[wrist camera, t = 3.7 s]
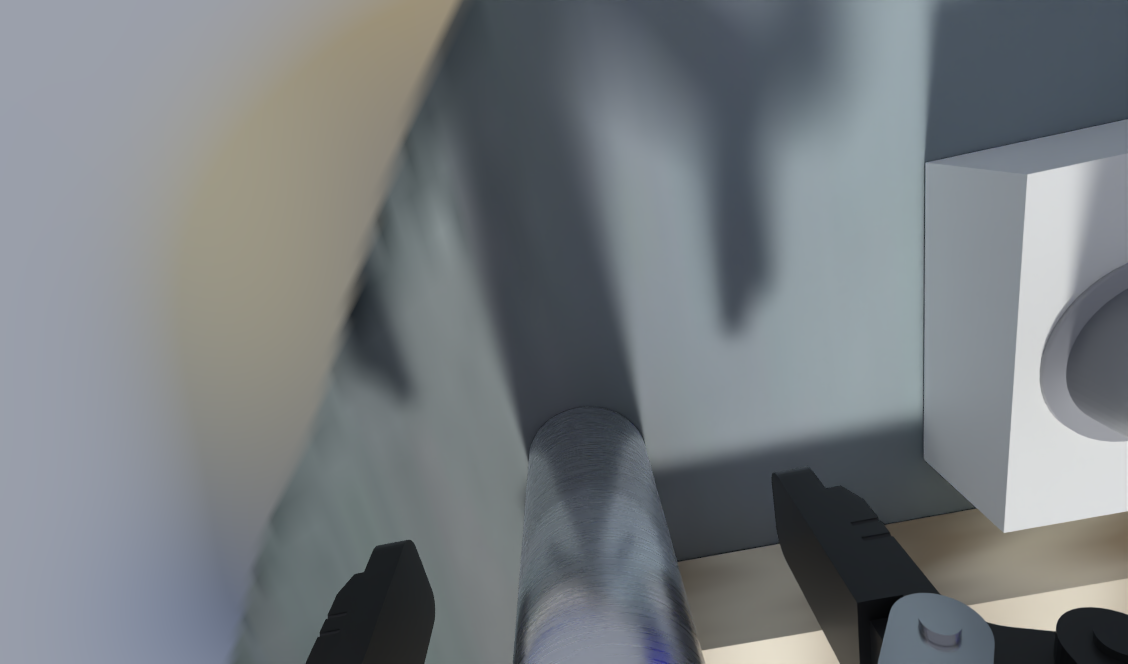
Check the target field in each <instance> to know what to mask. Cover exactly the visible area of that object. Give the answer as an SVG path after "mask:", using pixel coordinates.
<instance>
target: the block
mask: <svg viewBox="0 0 1128 664" xmlns="http://www.w3.org/2000/svg"><path fill="white" fill-rule="evenodd" d="M924 460H925V461H926V462H927V463H928V464H929V465H930V466H932V467H933V468H934V469H935V470H936V471H937V472H938V473H939V474H940V475H941V476H942V477H943V478H945V479H946V480H947V481H948V482H949V483H950V484H951V485H952V486H953V487H954V488H955V489H956V490H958V491H959V492H960V493H961V494H962V495H963V496H964V497H965V498H966V499H967V500H968V501H970V502H971V503H972V504H973V505H974V506H975V507H976V508H977V509H978V510H979V511H980V512H981V513H983V514H984V515H985V516H986V517H987V518H988V519H989V520H990V521H991V522H992V523H993V524H994V525H996V526H997V527H998V528H999V529H1000V530H1001V531H1002V532H1003V533H1007V532H1013V531H1018V530H1024V529H1030V528H1035V527H1041V526H1047V525H1052V524H1058V523H1064V522H1069V521H1075V520H1081V519H1086V518H1092V517H1098V516H1103V515H1109V514H1115V513H1120V512H1126V511H1128V119H1126V120H1122V121H1117V122H1112V123H1108V124H1103V125H1098V126H1094V127H1089V128H1084V129H1080V130H1075V131H1070V132H1066V133H1061V134H1056V135H1052V136H1047V137H1042V138H1038V139H1033V140H1028V141H1024V142H1019V143H1015V144H1010V145H1005V146H1001V147H996V148H991V149H987V150H982V151H977V152H973V153H968V154H963V155H959V156H954V157H949V158H945V159H940V160H935V161H931V162H926V163H925V329H924Z"/></svg>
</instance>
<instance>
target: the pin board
mask: <svg viewBox="0 0 1128 664" xmlns="http://www.w3.org/2000/svg"><path fill="white" fill-rule="evenodd" d="M885 527H886V528H887V529H888V530H889V532H890V534H891V536H894V538H895V539H896V540H897V541H898V543H899V544H900V545H901V546H902V548H903V549H904V550H905V551H906V552H907V554H908V555H909V556H910V557H911V559H912V560H913V561H914V562H915V564H916V565H917V566H918V567H919V568H920V570H921V571H922V572H923V573H924V575H925V576H926V577H927V578H928V580H929V581H930V582H931V583H932V585H933V586H934V587H935V588H936V589H937V591H938V592H939V593H940V594H941V595H943V596H947V597H950V598H953V599H955V600H957V601H960V602H962V603H963V604H965V605H967V606H969V607H970V608H972V609H973V610H974V611H976V612H977V613H978V614H979V615H980V616H981V617H982V618H983V619H984V620H985V621H986V622H988V623H992V624H996V625H1001V626H1008V627H1017V628H1027V629H1037V630H1047V631H1056V625H1057V622H1058V619H1059V618H1060V617H1061V615H1063V614H1064V613H1066V612H1067V611H1070V610H1072V609H1076V608H1082V607H1096V608H1104V609H1110V610H1114V611H1118V612H1122V613H1125V614H1127V615H1128V511H1126V512H1120V513H1115V514H1109V515H1103V516H1098V517H1092V518H1086V519H1081V520H1075V521H1069V522H1064V523H1058V524H1052V525H1047V526H1041V527H1035V528H1030V529H1024V530H1018V531H1013V532H1007V533H1003V532H1002V531H1001V530H1000V529H999V528H998V527H997V526H996V525H994V524H993V523H992V522H991V521H990V520H989V519H988V518H987V517H986V516H985V515H984V514H983V513H981V512H980V511H979V510H978V509H971V510H965V511H960V512H954V513H949V514H943V515H938V516H932V517H926V518H921V519H915V520H910V521H904V522H898V523H893V524H887V525H885ZM677 563H678V566H679V570H680V574H681V577H682V581H683V584H684V588H685V592H686V595H687V599H688V603H689V606H690V610H691V613H692V617H693V621H694V624H695V628H696V632H697V635H698V639H699V642H700V646H701V650H702V653H703V657H704V660H705V664H840V663H839V661H838V659H837V657H836V655H835V653H834V651H833V650H832V648H831V646H830V644H829V642H828V640H827V638H826V636H825V634H824V632H823V630H822V629H821V627H820V625H819V623H818V621H817V619H816V617H815V615H814V613H813V611H812V609H811V608H810V606H809V604H808V602H807V600H806V598H805V596H804V594H803V592H802V590H801V588H800V587H799V585H798V583H797V581H796V579H795V577H794V575H793V573H792V571H791V569H790V567H789V566H788V564H787V562H786V560H785V557H784V555H783V552H782V549H781V546H780V544H776V545H770V546H764V547H759V548H753V549H748V550H742V551H737V552H731V553H725V554H720V555H714V556H709V557H703V558H697V559H692V560H686V561H681V562H677Z"/></svg>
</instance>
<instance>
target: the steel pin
mask: <svg viewBox="0 0 1128 664" xmlns="http://www.w3.org/2000/svg"><path fill="white" fill-rule="evenodd" d="M513 664H705V660H704V657H703V653H702V650H701V646H700V642H699V639H698V635H697V632H696V628H695V624H694V621H693V617H692V613H691V610H690V606H689V603H688V599H687V595H686V592H685V588H684V584H683V581H682V577H681V574H680V570H679V566H678V563H677V559H676V555H675V552H674V548H673V545H672V541H671V537H670V534H669V530H668V526H667V523H666V519H665V516H664V512H663V508H662V505H661V501H660V497H659V494H658V490H657V487H656V483H655V479H654V476H653V472H652V469H651V465H650V461H649V458H648V454H647V450H646V447H645V443H644V440H643V438H642V436H641V434H640V432H639V431H638V429H637V428H636V427H635V426H634V425H633V424H632V423H631V422H630V421H629V420H628V419H626V418H625V417H623V416H622V415H620V414H618V413H616V412H614V411H611V410H608V409H604V408H600V407H579V408H574V409H570V410H567V411H564V412H562V413H560V414H558V415H556V416H554V417H553V418H551V419H550V420H548V421H547V422H546V423H545V424H544V425H543V426H542V427H541V428H540V429H539V431H538V432H537V434H536V435H535V437H534V439H533V441H532V444H531V447H530V452H529V462H528V475H527V488H526V501H525V513H524V526H523V539H522V552H521V565H520V578H519V591H518V603H517V616H516V629H515V642H514V655H513Z"/></svg>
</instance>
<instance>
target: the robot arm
mask: <svg viewBox="0 0 1128 664" xmlns="http://www.w3.org/2000/svg"><path fill="white" fill-rule="evenodd" d="M772 489H773V499H774V509H775V519H776V528H777V535H778V539H779V543H780V546H781V549H782V552H783V555H784V557H785V560H786V562H787V564H788V566H789V567H790V569H791V571H792V573H793V575H794V577H795V579H796V581H797V583H798V585H799V587H800V588H801V590H802V592H803V594H804V596H805V598H806V600H807V602H808V604H809V606H810V608H811V609H812V611H813V613H814V615H815V617H816V619H817V621H818V623H819V625H820V627H821V629H822V630H823V632H824V634H825V636H826V638H827V640H828V642H829V644H830V646H831V648H832V650H833V651H834V653H835V655H836V657H837V659H838V661H839V663H840V664H1128V615H1127V614H1125V613H1122V612H1118V611H1114V610H1110V609H1104V608H1096V607H1082V608H1076V609H1072V610H1070V611H1067V612H1066V613H1064V614H1063V615H1061V617H1060V618H1059V619H1058V622H1057V625H1056V631H1047V630H1037V629H1027V628H1017V627H1008V626H1001V625H996V624H992V623H988V622H986V621H985V620H984V619H983V618H982V617H981V616H980V615H979V614H978V613H977V612H976V611H974V610H973V609H972V608H970V607H969V606H967V605H965V604H963V603H962V602H960V601H957V600H955V599H953V598H950V597H947V596H943V595H941V594H940V593H939V592H938V591H937V589H936V588H935V587H934V586H933V585H932V583H931V582H930V581H929V580H928V578H927V577H926V576H925V575H924V573H923V572H922V571H921V570H920V568H919V567H918V566H917V565H916V564H915V562H914V561H913V560H912V559H911V557H910V556H909V555H908V554H907V552H906V551H905V550H904V549H903V548H902V546H901V545H900V544H899V543H898V541H897V540H896V539H895V538H894V536H891V534H890V532H889V530H888V529H887V528H886V527H885V525H884V524H883V523H882V522H881V521H879V520H878V517H877V516H876V514H875V513H874V512H873V511H872V509H871V508H870V507H869V506H868V504H867V503H866V502H865V501H864V500H863V499H862V498H860V497H859V496H857V495H855V494H854V493H852V492H850V491H849V490H847V489H845V488H844V487H842V486H836V487H831V488H826V489H825V487H824V486H823V485H822V483H821V482H820V481H819V479H818V478H817V476H816V475H815V474H814V472H813V471H812V470H811V469H810V468H809V467H802V468H797V469H791V470H786V471H781V472H775V473H773V474H772ZM434 620H435V601H434V595H433V592H432V589H431V586H430V583H429V581H428V578H427V575H426V573H425V570H424V567H423V565H422V562H421V559H420V557H419V554H418V552H417V549H416V546H415V544H414V543H413V542H412V541H411V540H405V541H400V542H395V543H389V544H384V545H379V546H376V547H375V548H374V550H373V552H372V554H371V557H370V559H369V562H368V564H367V566H366V569H365V571H364V572H363V573H358V574H354V575H353V577H352V578H351V579H350V580H349V581H348V582H347V583H346V585H345V586H344V587H343V588H342V589H341V590H340V592H339V593H338V594H337V596H336V598H335V600H334V602H333V605H332V607H331V609H330V611H329V613H328V619H326V620H325V622H324V624H323V626H322V629H321V631H320V637H317V640H316V642H315V644H314V646H313V648H312V650H311V653H310V655H309V657H308V659H307V661H306V664H424V662H425V658H426V654H427V650H428V646H429V642H430V637H431V633H432V629H433V625H434Z"/></svg>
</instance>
